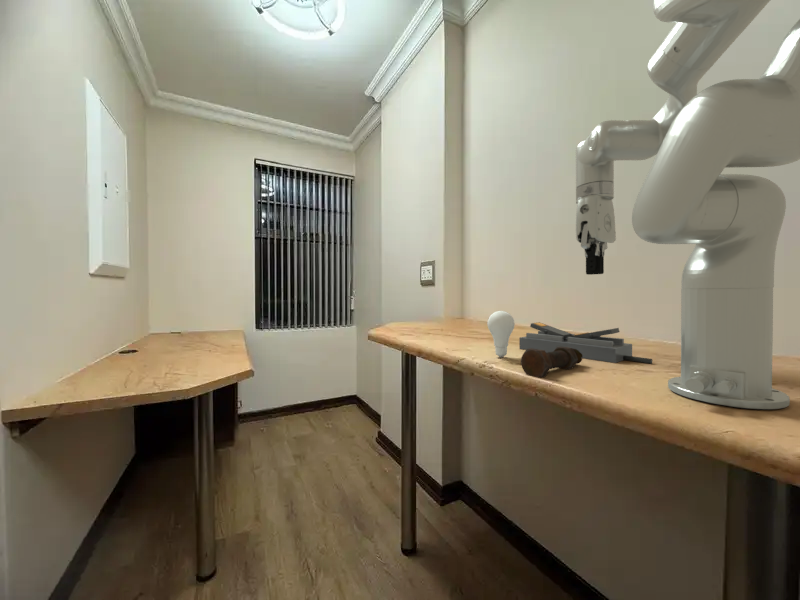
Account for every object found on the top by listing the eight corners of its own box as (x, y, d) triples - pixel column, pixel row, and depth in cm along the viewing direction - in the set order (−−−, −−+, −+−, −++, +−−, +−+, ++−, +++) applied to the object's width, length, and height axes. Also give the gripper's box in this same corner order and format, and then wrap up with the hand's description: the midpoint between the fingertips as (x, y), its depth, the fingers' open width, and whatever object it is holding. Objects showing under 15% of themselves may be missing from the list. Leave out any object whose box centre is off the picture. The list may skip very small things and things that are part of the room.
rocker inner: (612, 335, 73) (610, 328, 73) (572, 341, 80) (570, 335, 80) (620, 333, 75) (618, 327, 76) (580, 339, 82) (578, 333, 83)
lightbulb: (482, 355, 81) (482, 310, 80) (504, 354, 83) (504, 309, 82) (497, 360, 75) (496, 312, 75) (520, 358, 77) (520, 311, 76)
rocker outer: (561, 340, 82) (563, 334, 82) (529, 327, 89) (531, 322, 89) (570, 338, 84) (571, 333, 84) (538, 326, 91) (539, 321, 91)
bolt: (579, 374, 69) (536, 384, 61) (559, 359, 73) (515, 366, 65) (594, 352, 67) (551, 359, 59) (572, 337, 71) (529, 342, 62)
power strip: (643, 367, 66) (643, 346, 66) (519, 348, 89) (519, 333, 89) (659, 360, 72) (659, 341, 72) (538, 344, 94) (538, 330, 94)
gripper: (597, 184, 69) (597, 273, 70) (626, 195, 78) (626, 273, 79) (561, 193, 75) (562, 274, 76) (592, 202, 84) (592, 275, 85)
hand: (594, 274), depth 77 cm, fingers closed
